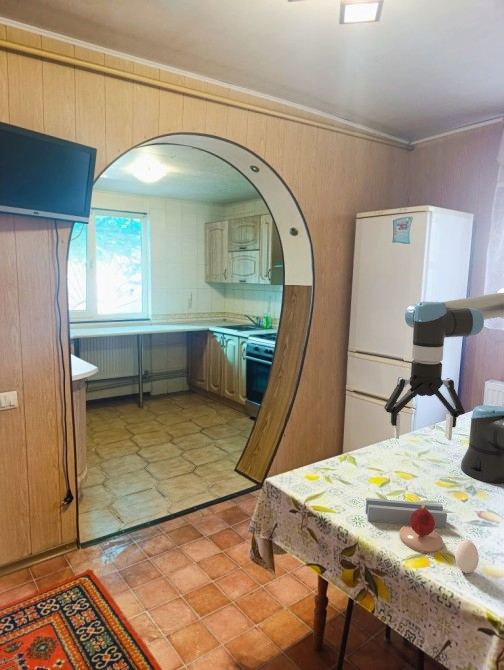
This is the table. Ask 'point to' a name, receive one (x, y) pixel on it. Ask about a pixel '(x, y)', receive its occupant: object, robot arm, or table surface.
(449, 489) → the table surface
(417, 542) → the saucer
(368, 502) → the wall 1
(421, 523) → the onion
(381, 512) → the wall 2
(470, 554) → the egg
